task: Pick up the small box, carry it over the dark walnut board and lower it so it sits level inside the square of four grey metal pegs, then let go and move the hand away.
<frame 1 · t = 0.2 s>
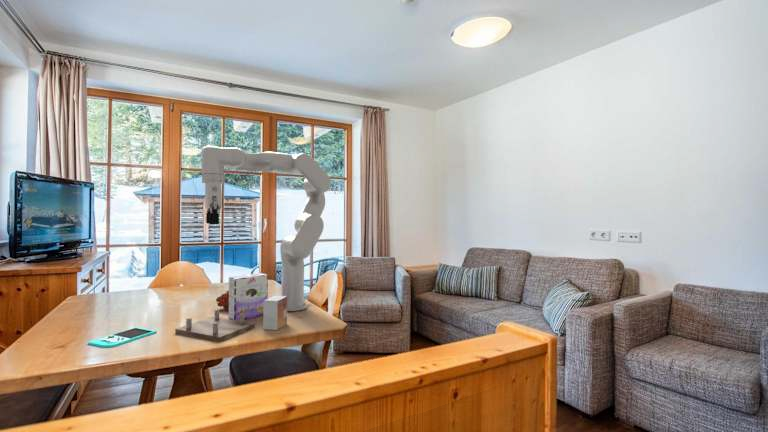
hand: (212, 223, 142), 37 cm above the table, tool pointing down, fingers open, 9 cm apart
candy box: (248, 316, 147), on the table
dragon fruit: (229, 309, 157), on the table
peg board: (216, 330, 130), on the table
small box: (275, 327, 135), on the table
handheld game console: (123, 340, 121), on the table
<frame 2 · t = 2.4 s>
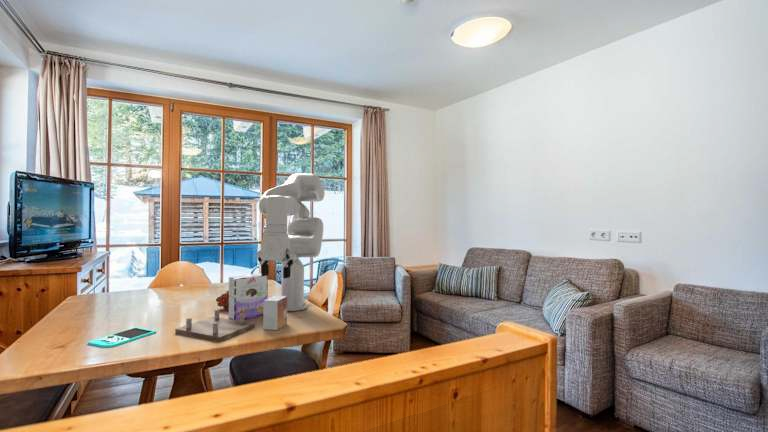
hand: (275, 276, 134), 18 cm above the table, tool pointing down, fingers open, 9 cm apart
nothing on the table moved.
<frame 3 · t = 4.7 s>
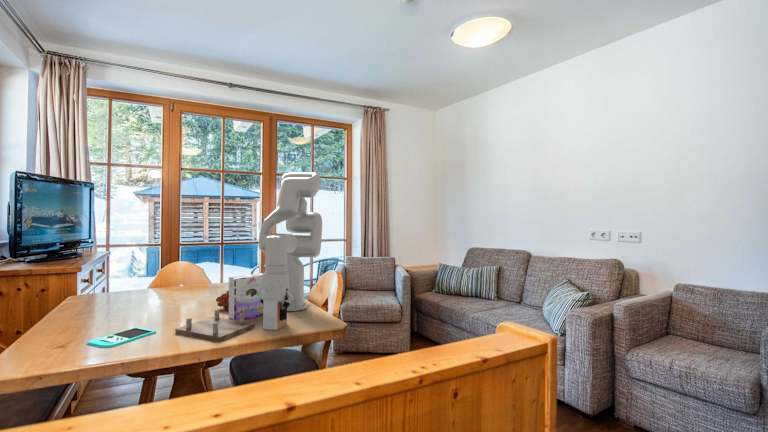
hand: (275, 318, 135), 3 cm above the table, tool pointing down, fingers closed on small box, 6 cm apart
small box: (275, 327, 135), on the table, touching gripper
everything else where it was.
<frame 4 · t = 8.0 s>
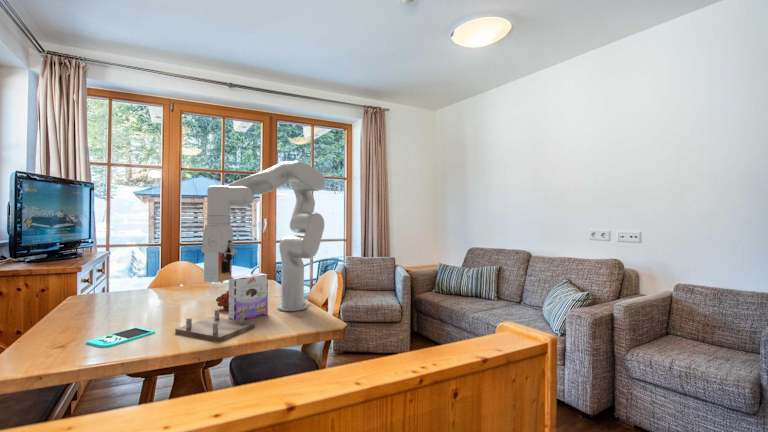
hand: (218, 271, 129), 21 cm above the table, tool pointing down, fingers closed on small box, 6 cm apart
small box: (218, 281, 129), point 17 cm above the table, touching gripper
everything else where it was.
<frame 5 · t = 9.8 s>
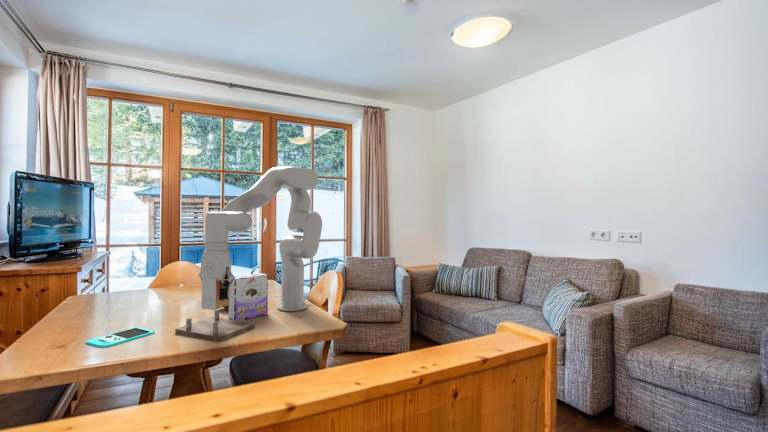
hand: (216, 297, 129), 11 cm above the table, tool pointing down, fingers closed on small box, 6 cm apart
small box: (215, 307, 129), point 8 cm above the table, touching gripper
everything else where it was.
when the fingers open (6 cm above the table, at t = 11.3 s): small box drops 1 cm, resting on peg board.
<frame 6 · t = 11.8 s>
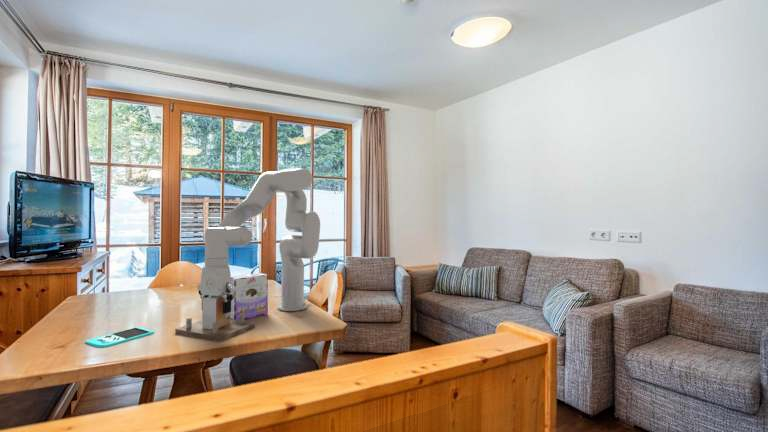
hand: (216, 311, 130), 7 cm above the table, tool pointing down, fingers open, 9 cm apart
small box: (216, 326, 130), point 1 cm above the table, touching peg board
everything else where it was.
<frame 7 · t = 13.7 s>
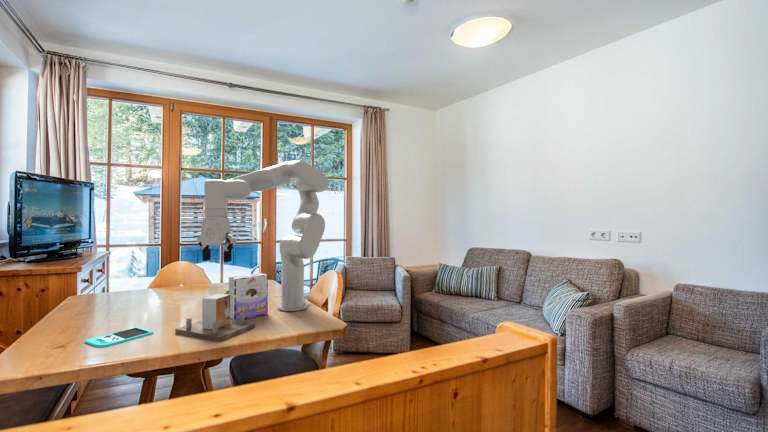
hand: (217, 261, 134), 24 cm above the table, tool pointing down, fingers open, 9 cm apart
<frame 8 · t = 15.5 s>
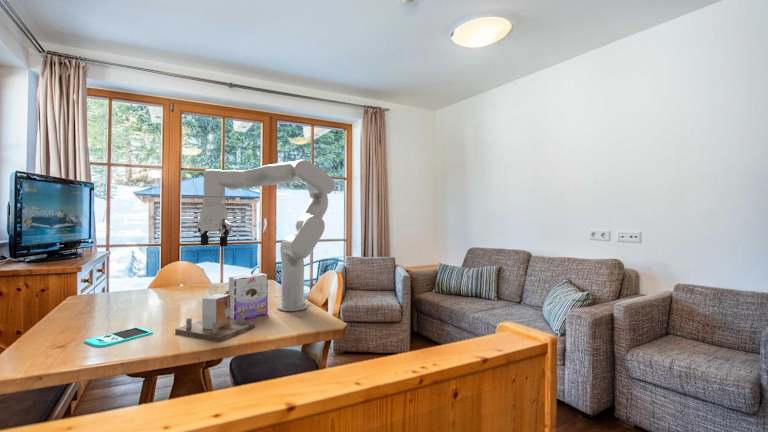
hand: (213, 245, 143), 28 cm above the table, tool pointing down, fingers open, 9 cm apart
at the end: small box 0.1 cm off-centre on the peg board, point 1.3 cm above the peg board's base; small box tilted 0°; the gripper is holding nothing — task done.
